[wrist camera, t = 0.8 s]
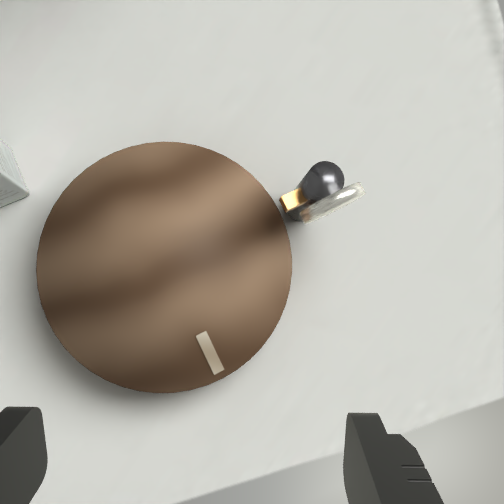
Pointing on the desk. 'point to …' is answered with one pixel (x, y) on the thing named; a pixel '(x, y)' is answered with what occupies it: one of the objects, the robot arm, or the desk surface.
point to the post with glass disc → (320, 193)
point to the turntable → (164, 267)
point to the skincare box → (10, 177)
